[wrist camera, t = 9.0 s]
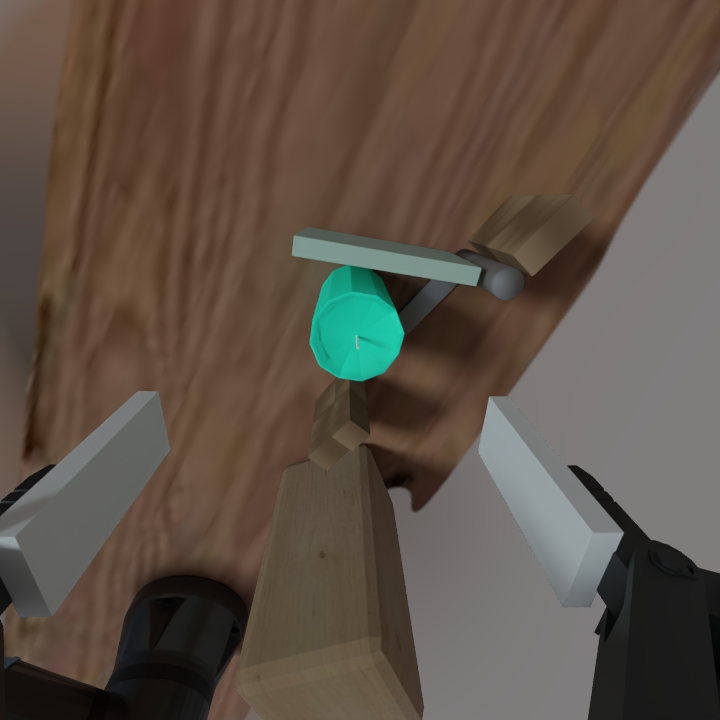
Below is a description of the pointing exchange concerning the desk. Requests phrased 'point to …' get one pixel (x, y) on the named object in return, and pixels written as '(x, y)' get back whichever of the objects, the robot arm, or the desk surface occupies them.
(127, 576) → the desk surface
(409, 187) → the desk surface
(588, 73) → the desk surface
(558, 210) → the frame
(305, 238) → the sage green plank
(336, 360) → the candle
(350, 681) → the wooden block
